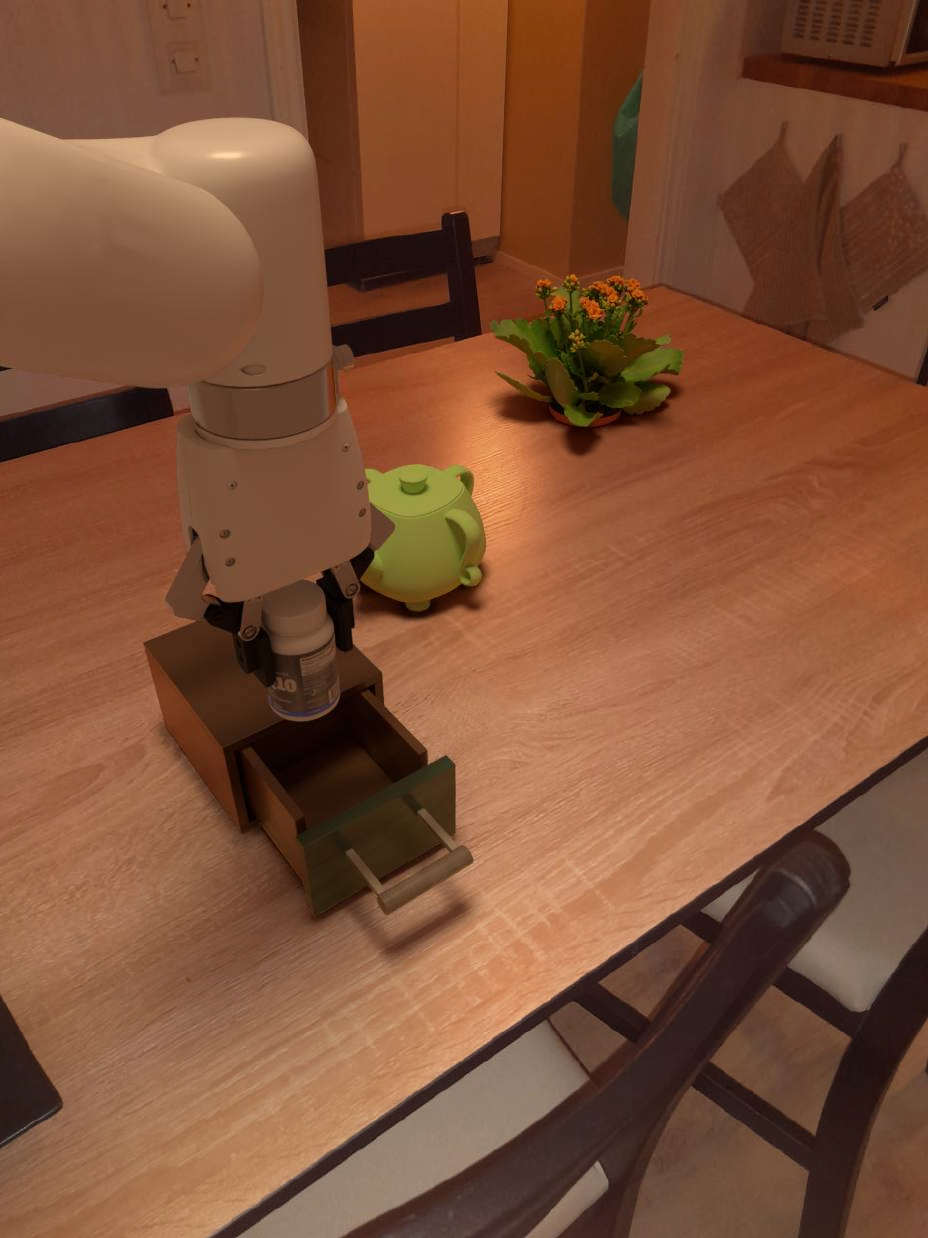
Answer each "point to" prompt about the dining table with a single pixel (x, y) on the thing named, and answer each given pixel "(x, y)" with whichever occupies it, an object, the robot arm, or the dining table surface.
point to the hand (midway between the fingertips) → (298, 654)
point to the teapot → (425, 533)
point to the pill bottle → (301, 651)
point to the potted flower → (591, 352)
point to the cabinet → (227, 704)
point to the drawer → (353, 803)
